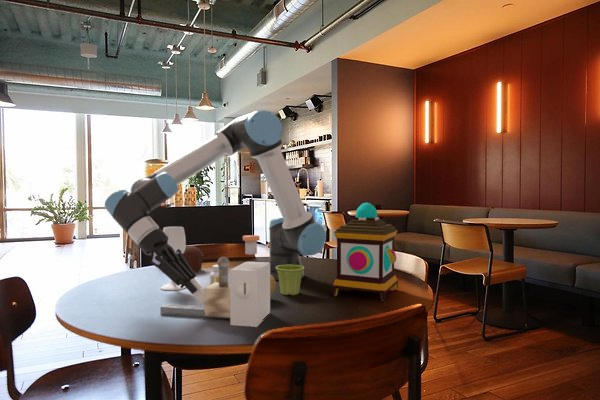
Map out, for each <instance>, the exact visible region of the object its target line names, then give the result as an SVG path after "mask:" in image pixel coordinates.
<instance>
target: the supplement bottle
mask: <svg viewBox="0 0 600 400" xmlns="http://www.w3.org/2000/svg"><path fill="white" fill-rule="evenodd" d="M209 276H210V279H209V280H210V282H209V283H210V284H209V285H211V284H213V283H215V282H217V283H219V266H218V264H213V265H212V272H210V275H209Z"/></svg>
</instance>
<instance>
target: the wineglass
mask: <svg viewBox="0 0 600 400" xmlns="http://www.w3.org/2000/svg"><path fill="white" fill-rule="evenodd" d="M162 231H163V232H164V233H165V234H166V235H167V236H168V241H167V244H168V245H170V246H171V247H172V248H173V250H175V251H177V250H178V249H180V250H181V252H182V254H183V253H184V251H185V248H186V247H187V243H186V242H187V241H186V240H187V238H186V233H185V228H184V227H183V226H165V227H163V229H162ZM180 286H181V285H180ZM180 286H178V285H177V284H176V283H174V282H173V281H172V280H171V282H170V283H167V284H164V285H162V286H161V287H160V289H161V290H162V291H178V290H179V291H180V290H183V289H187V288H186V287H185V286H184V287H183V288H181V287H180Z"/></svg>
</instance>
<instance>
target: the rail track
mask: <svg viewBox="0 0 600 400" xmlns="http://www.w3.org/2000/svg"><path fill="white" fill-rule="evenodd" d="M159 309H160V315H168V316H180V317H193V318H195V317H196V318H209V319H223V320H230V317H217V316H205V311H204V305H202V306H201V305H190V304H189V305H188V304H187V305H186V304H176V303H175V304H172V303H166V304H163V305H161V306H160V308H159Z"/></svg>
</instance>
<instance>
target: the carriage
mask: <svg viewBox="0 0 600 400" xmlns="http://www.w3.org/2000/svg"><path fill="white" fill-rule="evenodd" d="M216 265H218V266H219V283H217V282H215V283H213V284H211V285H210V284H209V285H207V286H205V287H204V288H203V289H204V302H203V306H204V311H205V316H217V317H230V282H229V266H230V259H229V257H227V256H220V257H219V258H218V259H217V263H216Z"/></svg>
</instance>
